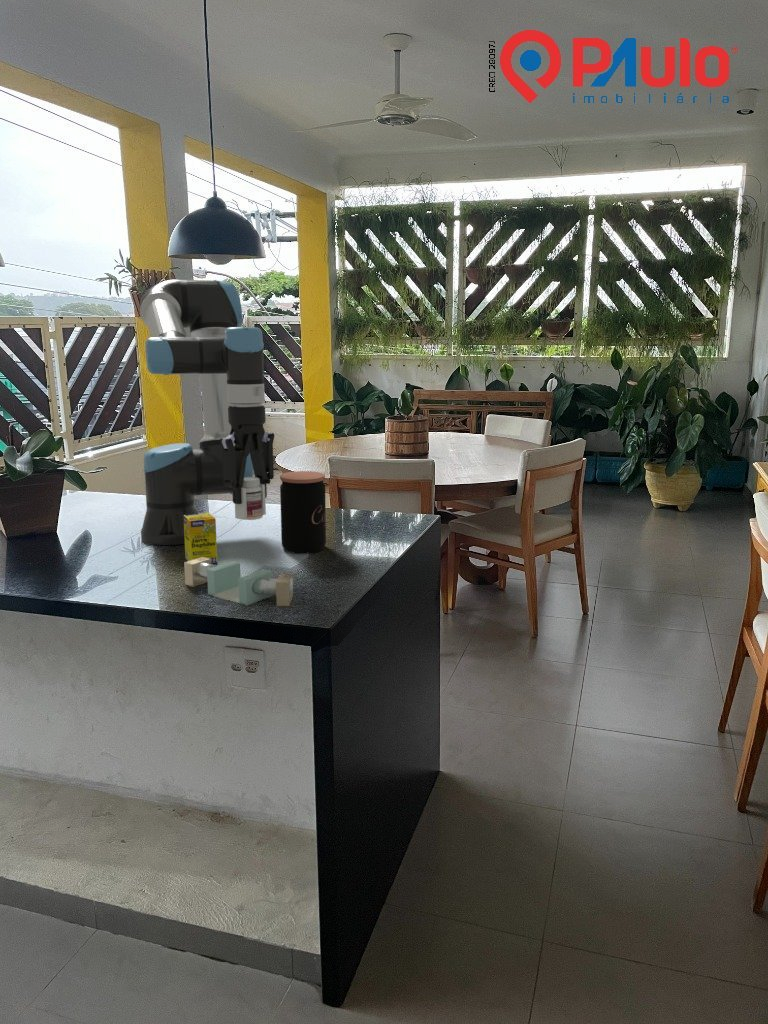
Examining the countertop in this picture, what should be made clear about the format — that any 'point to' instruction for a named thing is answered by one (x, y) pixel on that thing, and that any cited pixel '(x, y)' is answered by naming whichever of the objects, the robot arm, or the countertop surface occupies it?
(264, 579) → the shaft
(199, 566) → the shaft
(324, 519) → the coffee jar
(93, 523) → the countertop surface
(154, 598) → the countertop surface
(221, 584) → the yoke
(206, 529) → the supplement box
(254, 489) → the pill bottle
